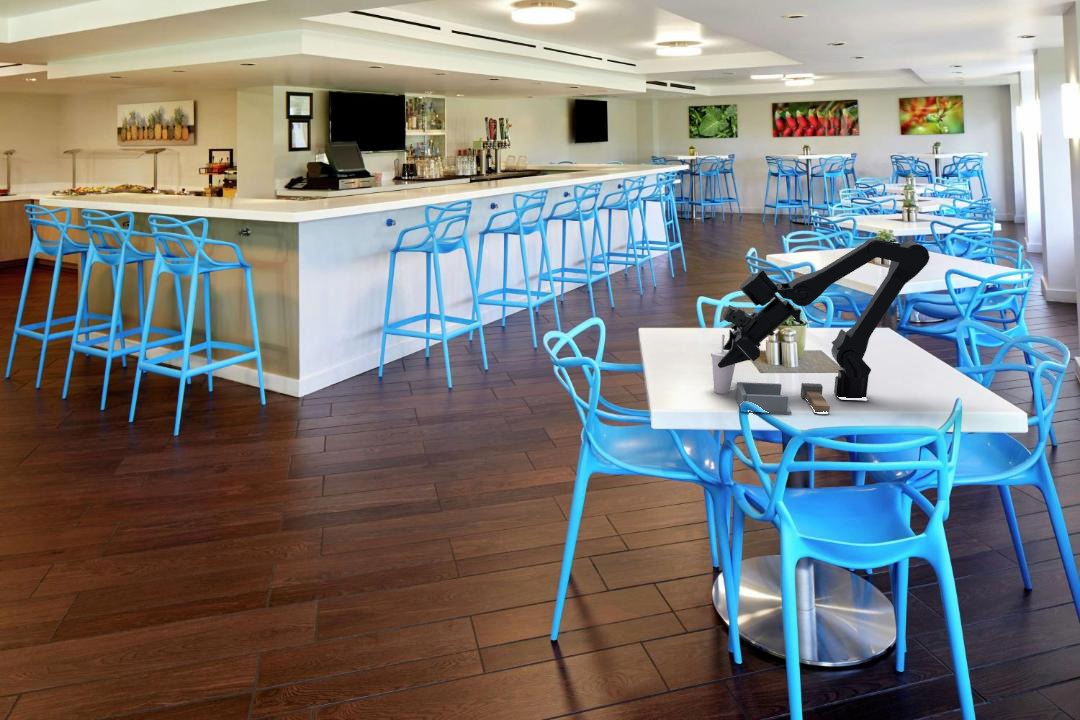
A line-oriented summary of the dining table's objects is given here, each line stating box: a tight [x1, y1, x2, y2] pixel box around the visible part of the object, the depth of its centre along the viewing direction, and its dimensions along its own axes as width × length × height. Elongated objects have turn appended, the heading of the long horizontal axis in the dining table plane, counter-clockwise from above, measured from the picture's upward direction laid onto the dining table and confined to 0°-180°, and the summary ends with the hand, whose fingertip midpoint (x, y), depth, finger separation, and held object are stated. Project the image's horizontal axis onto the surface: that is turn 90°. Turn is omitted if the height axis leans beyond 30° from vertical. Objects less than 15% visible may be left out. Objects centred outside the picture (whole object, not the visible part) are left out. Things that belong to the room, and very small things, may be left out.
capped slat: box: [800, 382, 830, 413], centre depth 195 cm, size 14×4×3 cm, turn 173°
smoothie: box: [710, 334, 736, 395], centre depth 204 cm, size 6×6×14 cm
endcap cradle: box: [735, 381, 793, 415], centre depth 194 cm, size 11×10×4 cm
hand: (717, 362), depth 204 cm, fingers closed on smoothie, 6 cm apart
